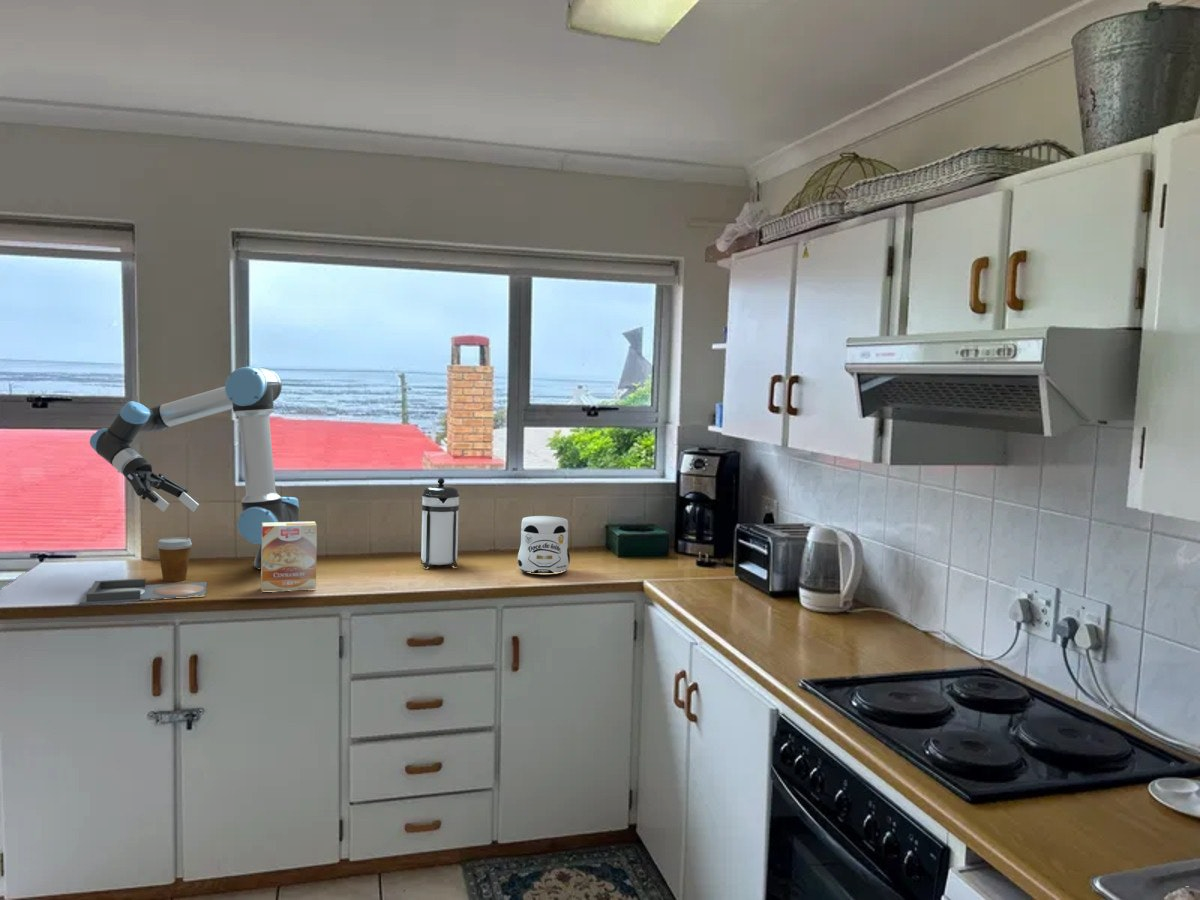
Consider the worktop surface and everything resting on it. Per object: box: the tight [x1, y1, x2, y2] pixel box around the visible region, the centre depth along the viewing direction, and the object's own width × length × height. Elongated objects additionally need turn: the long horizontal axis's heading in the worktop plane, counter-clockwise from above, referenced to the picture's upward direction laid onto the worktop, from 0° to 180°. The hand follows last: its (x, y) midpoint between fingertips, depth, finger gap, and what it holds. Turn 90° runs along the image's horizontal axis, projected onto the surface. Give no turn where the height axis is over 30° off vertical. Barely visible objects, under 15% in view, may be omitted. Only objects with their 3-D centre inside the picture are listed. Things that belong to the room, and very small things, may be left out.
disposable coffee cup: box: [156, 537, 193, 583], centre depth 255 cm, size 10×10×12 cm
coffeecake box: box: [260, 521, 318, 592], centre depth 248 cm, size 15×7×20 cm, turn 114°
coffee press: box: [420, 477, 461, 568], centre depth 288 cm, size 17×16×30 cm
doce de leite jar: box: [517, 515, 571, 573], centre depth 282 cm, size 17×17×18 cm
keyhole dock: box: [79, 578, 208, 606], centre depth 237 cm, size 30×17×3 cm, turn 113°
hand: (181, 508), depth 256 cm, fingers open, 13 cm apart
